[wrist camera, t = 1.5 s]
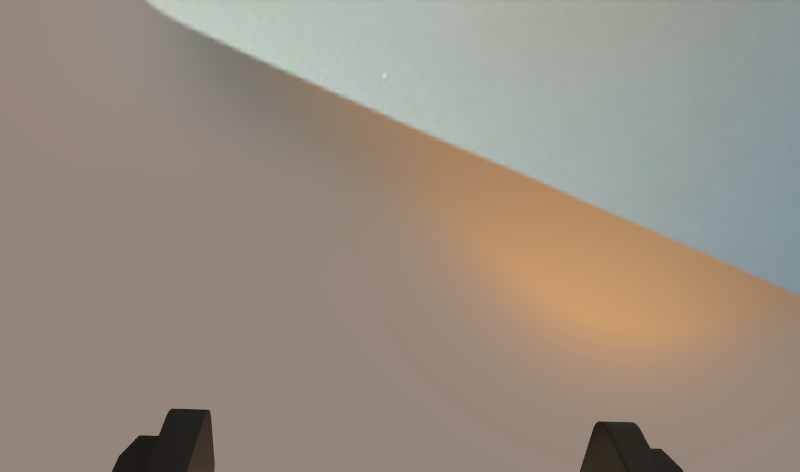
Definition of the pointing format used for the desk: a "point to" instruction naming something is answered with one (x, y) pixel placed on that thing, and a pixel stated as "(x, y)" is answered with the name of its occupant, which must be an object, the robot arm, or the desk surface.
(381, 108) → the desk surface
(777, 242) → the desk surface
